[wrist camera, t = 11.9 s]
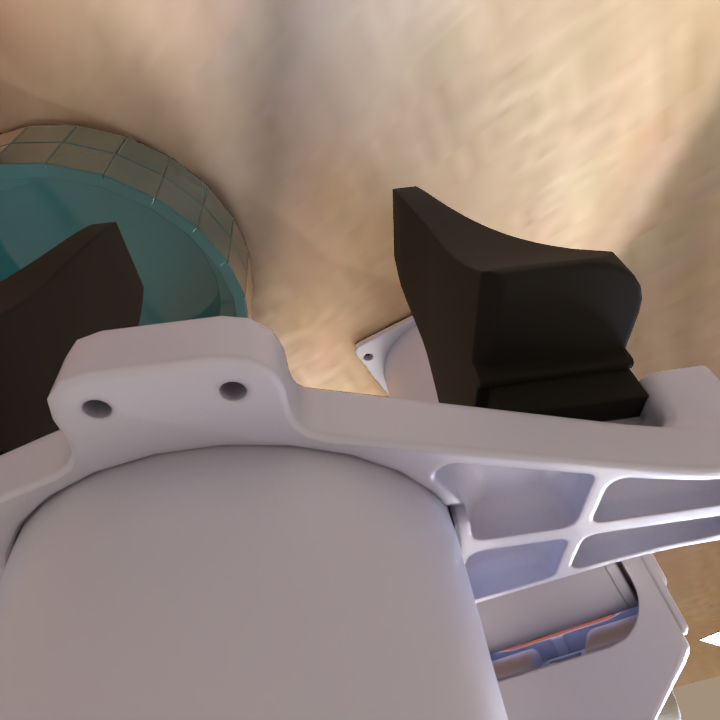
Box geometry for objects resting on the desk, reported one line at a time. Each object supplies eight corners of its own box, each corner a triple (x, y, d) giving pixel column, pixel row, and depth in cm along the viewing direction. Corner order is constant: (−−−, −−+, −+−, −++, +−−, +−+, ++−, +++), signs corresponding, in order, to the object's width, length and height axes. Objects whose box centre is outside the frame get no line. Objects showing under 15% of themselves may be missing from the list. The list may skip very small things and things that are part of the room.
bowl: (304, 298, 27) (307, 352, 24) (114, 400, 30) (95, 460, 27) (103, 48, 18) (68, 81, 15) (-129, 227, 22) (-197, 284, 19)
